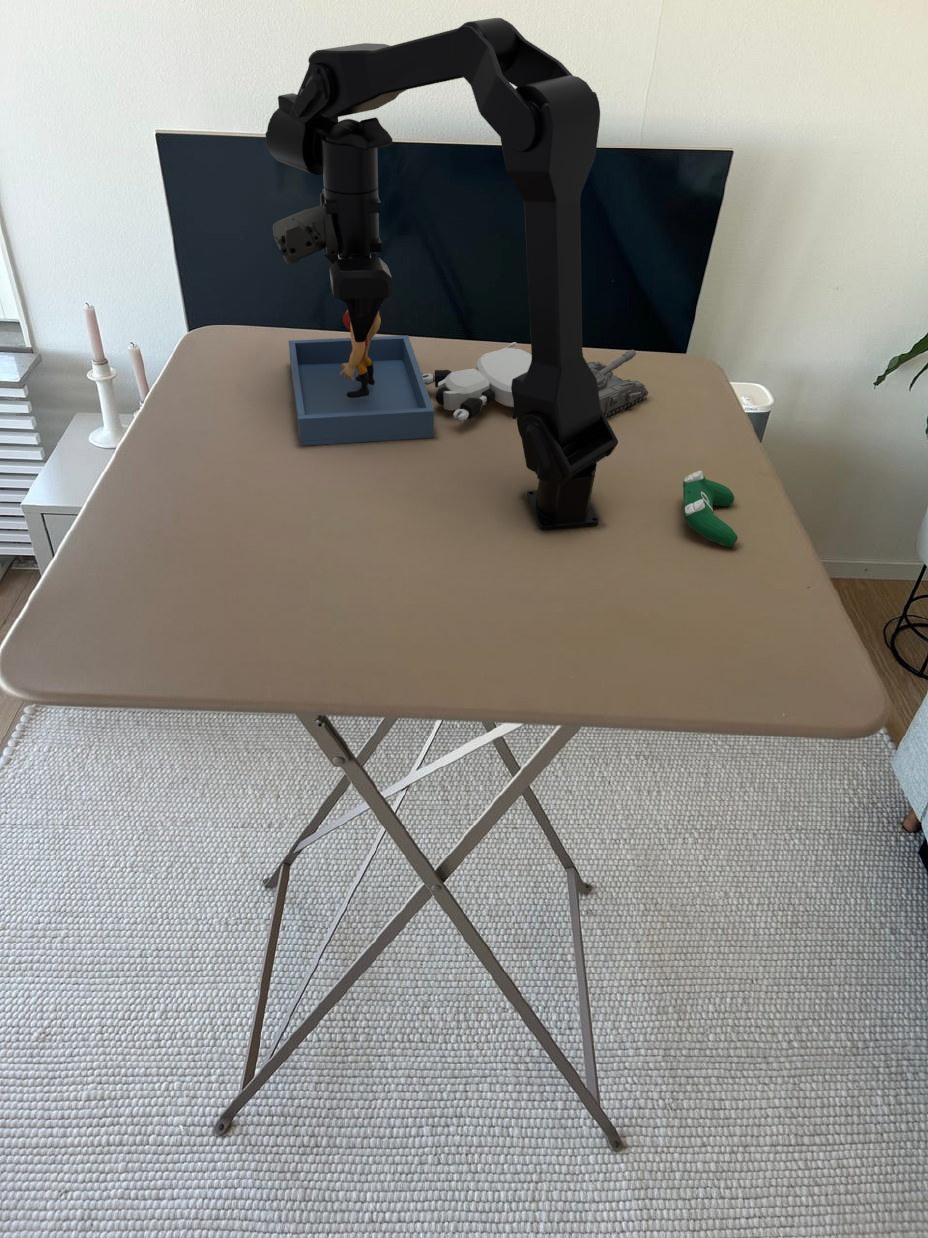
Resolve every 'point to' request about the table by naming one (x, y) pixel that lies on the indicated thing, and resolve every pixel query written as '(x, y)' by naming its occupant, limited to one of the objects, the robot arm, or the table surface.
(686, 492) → the green christmas stockings
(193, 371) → the table surface
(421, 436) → the storage bin
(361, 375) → the action figure
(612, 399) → the tank toy
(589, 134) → the robot arm
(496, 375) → the robot toy
